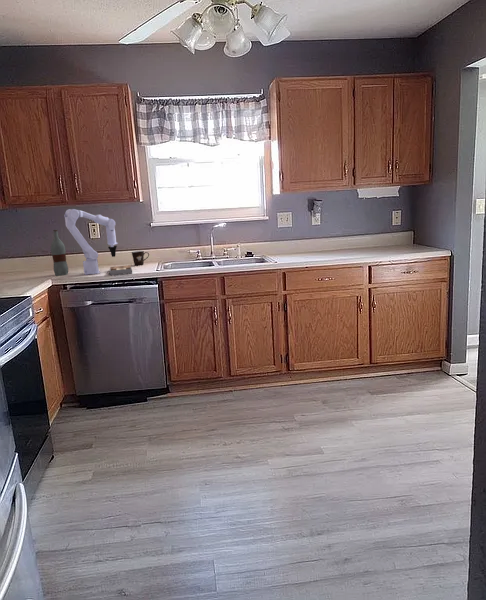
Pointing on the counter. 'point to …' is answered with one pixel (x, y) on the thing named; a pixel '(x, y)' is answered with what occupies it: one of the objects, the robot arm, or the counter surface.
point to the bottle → (59, 256)
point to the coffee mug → (139, 257)
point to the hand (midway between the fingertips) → (113, 256)
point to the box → (120, 272)
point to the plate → (120, 267)
